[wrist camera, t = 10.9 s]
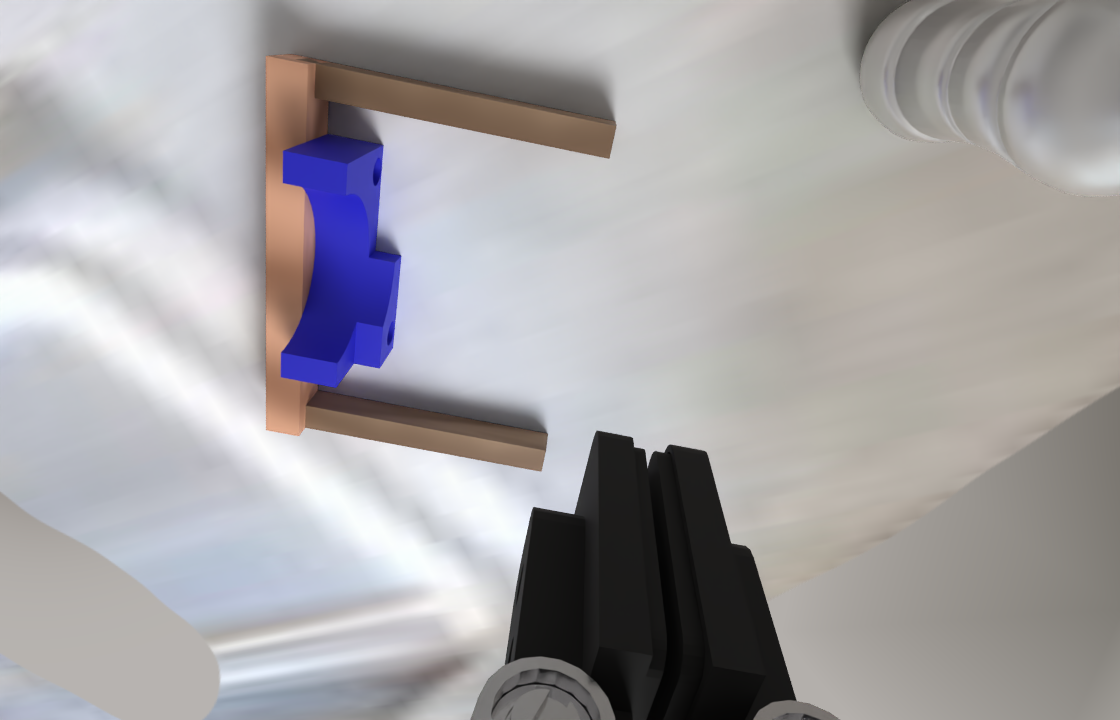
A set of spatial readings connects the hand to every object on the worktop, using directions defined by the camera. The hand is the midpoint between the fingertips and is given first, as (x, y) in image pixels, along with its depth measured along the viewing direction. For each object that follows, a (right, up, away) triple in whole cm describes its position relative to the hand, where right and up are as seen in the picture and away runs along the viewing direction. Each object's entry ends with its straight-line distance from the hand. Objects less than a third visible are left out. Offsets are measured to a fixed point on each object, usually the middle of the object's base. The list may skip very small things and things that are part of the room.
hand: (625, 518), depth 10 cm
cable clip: (-12, +9, +29) cm, 33 cm away
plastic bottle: (+17, +17, +23) cm, 33 cm away
